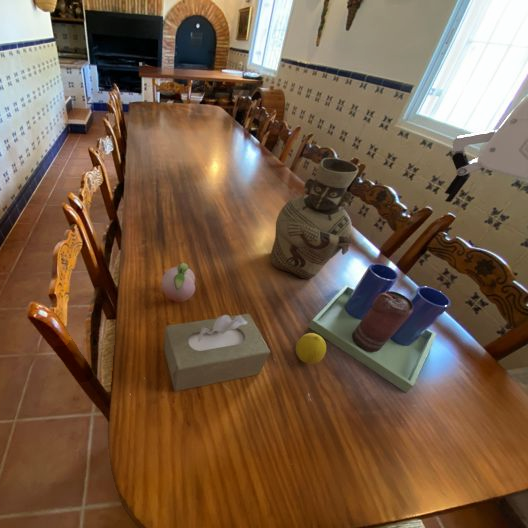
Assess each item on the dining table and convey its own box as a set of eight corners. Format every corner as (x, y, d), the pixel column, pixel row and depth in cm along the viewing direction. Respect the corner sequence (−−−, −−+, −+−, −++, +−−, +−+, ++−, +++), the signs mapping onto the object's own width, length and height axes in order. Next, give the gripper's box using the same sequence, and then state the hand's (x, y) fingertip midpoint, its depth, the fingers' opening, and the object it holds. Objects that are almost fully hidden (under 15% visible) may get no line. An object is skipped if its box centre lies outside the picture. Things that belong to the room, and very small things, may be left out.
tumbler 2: (414, 338, 71) (453, 297, 62) (407, 352, 68) (447, 311, 59) (388, 322, 74) (421, 282, 65) (379, 335, 71) (413, 294, 62)
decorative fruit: (162, 284, 79) (164, 254, 73) (192, 286, 79) (197, 257, 73) (159, 310, 72) (160, 280, 66) (192, 313, 72) (197, 283, 66)
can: (351, 326, 72) (380, 285, 63) (380, 338, 69) (415, 297, 60) (348, 344, 68) (379, 302, 59) (378, 358, 65) (416, 316, 56)
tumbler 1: (371, 313, 76) (401, 273, 68) (363, 325, 73) (393, 284, 64) (348, 300, 80) (374, 259, 71) (339, 311, 76) (365, 270, 67)
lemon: (291, 367, 63) (304, 344, 58) (290, 345, 67) (302, 323, 62) (318, 374, 62) (334, 352, 57) (315, 352, 66) (330, 329, 61)
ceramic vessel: (300, 293, 80) (349, 191, 61) (253, 249, 94) (280, 155, 75) (347, 276, 88) (405, 180, 68) (297, 237, 102) (332, 149, 82)
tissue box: (172, 392, 57) (178, 343, 47) (162, 349, 64) (165, 298, 54) (261, 374, 61) (284, 325, 51) (242, 335, 68) (259, 286, 58)
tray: (430, 340, 71) (437, 333, 69) (406, 392, 60) (413, 386, 58) (342, 290, 82) (346, 283, 81) (308, 326, 72) (312, 320, 70)
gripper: (499, 65, 35) (415, 196, 46) (747, 94, 26) (568, 249, 37) (506, 64, 39) (427, 184, 50) (721, 89, 30) (568, 229, 41)
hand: (487, 212), depth 44 cm, fingers open, 9 cm apart
